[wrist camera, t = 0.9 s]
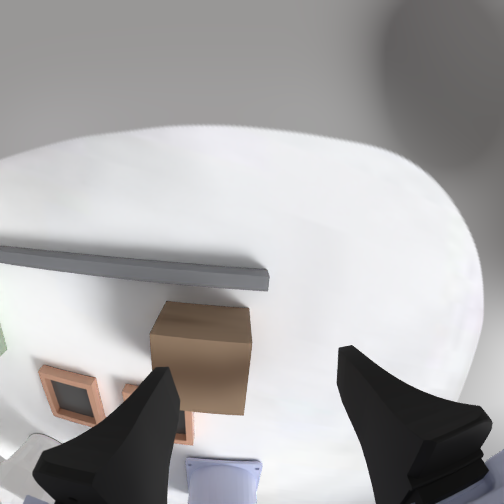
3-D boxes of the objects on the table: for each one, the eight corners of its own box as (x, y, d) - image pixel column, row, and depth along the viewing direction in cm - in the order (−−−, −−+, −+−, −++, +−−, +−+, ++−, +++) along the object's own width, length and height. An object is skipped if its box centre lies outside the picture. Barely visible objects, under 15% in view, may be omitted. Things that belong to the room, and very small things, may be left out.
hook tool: (252, 393, 24) (253, 412, 22) (-5, 345, 22) (-18, 356, 20) (267, 269, 21) (271, 282, 19) (-26, 242, 19) (-43, 249, 17)
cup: (51, 417, 25) (11, 485, 14) (117, 481, 28) (98, 546, 17) (4, 424, 25) (-30, 475, 15) (61, 481, 29) (40, 533, 18)
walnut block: (242, 373, 24) (243, 415, 19) (168, 366, 23) (156, 406, 18) (249, 307, 22) (252, 343, 17) (166, 300, 22) (149, 333, 17)
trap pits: (194, 436, 25) (193, 445, 24) (58, 408, 24) (53, 415, 23) (193, 393, 24) (191, 402, 23) (43, 364, 23) (38, 371, 22)
